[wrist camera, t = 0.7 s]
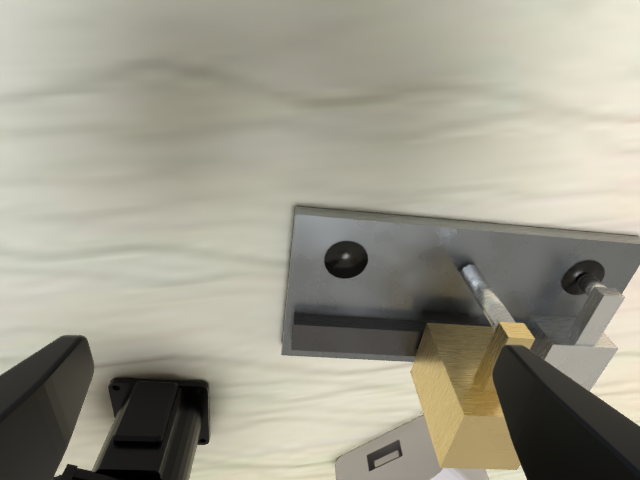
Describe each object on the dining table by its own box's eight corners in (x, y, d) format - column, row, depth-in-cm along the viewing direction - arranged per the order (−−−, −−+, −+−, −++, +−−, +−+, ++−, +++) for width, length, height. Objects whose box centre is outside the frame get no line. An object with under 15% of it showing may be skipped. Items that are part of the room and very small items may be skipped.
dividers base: (566, 358, 28) (597, 401, 25) (282, 343, 26) (280, 387, 23) (638, 236, 23) (689, 270, 20) (295, 205, 21) (295, 238, 18)
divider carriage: (466, 362, 26) (516, 469, 20) (406, 359, 26) (440, 467, 20) (506, 267, 22) (583, 363, 16) (437, 262, 22) (490, 358, 16)
